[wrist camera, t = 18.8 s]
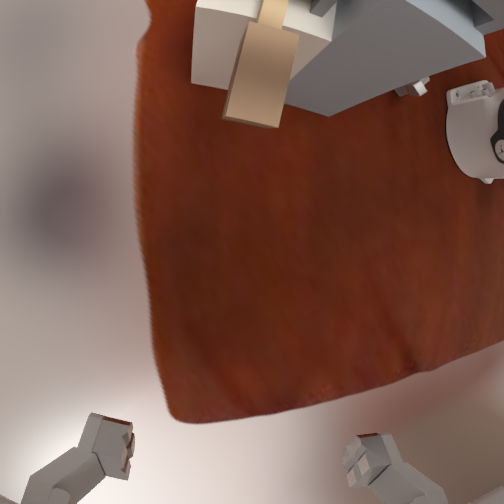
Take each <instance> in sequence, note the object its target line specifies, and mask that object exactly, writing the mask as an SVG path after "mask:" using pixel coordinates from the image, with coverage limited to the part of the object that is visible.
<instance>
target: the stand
mask: <svg viewBox="0 0 504 504" xmlns="http://www.w3.org/2000/svg"><path fill="white" fill-rule="evenodd" d="M261 2H262V0H198V1H197V4H196V8H195V21H194V35H193V52H192V72H191V83H193V84H199V85H204V86H210V87H215V88H220V89H225V90H228V87H229V83H230V79H231V75H232V71H233V67H234V63H235V59H236V55H237V52H238V48H239V44H240V40H241V38H242V36H243V34H244V32H245V29H246V27H247V25H248V23H249V21H251V22H255V23H256V20H257V16H258V12H259V9H260V5H261ZM503 28H504V0H289V2H288V6H287V10H286V14H285V18H284V22H283V26H282V30H285V31H289V32H292V33H295V34H299V35H300V36H299V41H298V45H297V49H296V53H295V58H294V62H293V66H292V71H291V75H290V79H289V83H288V88H287V92H286V96H285V101H284V104H288V105H291V106H295V107H298V108H302V109H305V110H308V111H312V112H315V113H318V114H321V115H324V116H327V117H330V116H332V115H334V114H336V113H339V112H341V111H343V110H345V109H348V108H350V107H352V106H354V105H357V104H359V103H361V102H364V101H366V100H369V99H371V98H373V97H376V96H378V95H381V94H383V93H386V92H388V91H391V90H393V89H396V88H398V87H401V86H403V85H406V84H409V83H411V82H414V81H417V80H419V79H422V78H425V77H428V76H430V75H433V74H436V73H439V72H442V71H445V70H448V69H451V68H454V67H457V66H460V65H463V64H466V63H469V62H472V61H476V60H479V59H482V58H486V53H485V44H484V37H483V35H485V34H488V33H491V32H494V31H497V30H500V29H503Z"/></svg>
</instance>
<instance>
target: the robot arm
mask: <svg viewBox="0 0 504 504" xmlns="http://www.w3.org/2000/svg"><path fill="white" fill-rule="evenodd" d="M446 95H447V104H448V113H447V120H446V131H447V139H448V143H449V147H450V150H451V153H452V156H453V158H454V160H455V162H456V163H457V165H458V167H459V168H460V169H461V170H462V171H463V172H464V173H465V174H466V175H468V176H470V177H473V178H479V179H481V180H482V181H483V182H484V183H485V184H491V183H492V181H493V179H497V178H504V88H499V89H494V86H493V84H492V82H488V81H487V80H481V81H478V82H474V83H471V84H467V85H464V86H460V87H457V88H454V89H450V90H448V91H447V94H446ZM132 430H133V425H132V422H127V421H123V420H119V419H114V418H110V417H106V416H103V415H99V414H95V413H91V414H90V415H89V417H88V419H87V422H86V425H85V427H84V430H83V433H82V436H81V439H80V442H79V444H78V447H77V448H76V447H73V448H71V449H70V450H68V451H67V452H66V453H64V454H63V455H61V456H60V457H58V458H57V459H55V460H54V461H52V462H51V463H49V464H48V465H46V466H45V467H44V468H42V469H40V470H39V471H37V472H36V473H34V474H33V475H31V476H30V478H29V481H28V484H27V487H26V490H25V492H24V495H23V498H22V501H21V504H77V502H79V501H80V500H81V499H82V498H83V497H84V496H85V495H86V494H88V493H89V492H90V491H91V490H92V489H93V488H94V487H95V486H96V485H97V484H98V483H100V482H101V481H102V480H103V479H104V478H105V476H109V477H114V478H118V479H123V480H128V477H129V472H130V468H131V465H130V461H129V459H130V458H131V457H132V456H133V452H134V446H135V436H134V433H132ZM342 463H343V466H344V468H346V469H347V470H348V472H347V474H346V478H347V481H348V484H349V488H357V487H364V486H368V488H369V489H370V490H371V491H372V492H373V493H374V494H375V495H376V496H377V497H378V498H380V500H381V501H382V502H383V503H384V504H449V503H448V501H447V498H446V496H445V493H444V491H443V489H442V488H441V487H439V486H438V485H437V484H435V483H434V482H433V481H431V480H430V479H428V478H427V477H426V476H424V475H423V474H422V473H420V472H419V471H418V470H416V469H415V468H413V467H412V466H411V465H409V464H408V463H407V462H403V461H402V458H401V456H400V454H399V451H398V449H397V447H396V444H395V442H394V440H393V437H392V435H391V434H390V433H389V432H381V433H372V434H364V435H356V436H354V437H353V438H352V439H351V444H349V445H347V446H346V447H345V449H344V450H343V453H342ZM0 504H18V503H16V502H14V501H12V500H10V499H8V498H6V497H4V496H2V495H0ZM468 504H504V485H503V486H500V487H498V488H497V489H495V490H493V491H491V492H489V493H488V494H486V495H484V496H482V497H480V498H478V499H476V500H474V501H472V502H470V503H468Z"/></svg>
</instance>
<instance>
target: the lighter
mask: <svg viewBox="0 0 504 504" xmlns="http://www.w3.org/2000/svg"><path fill="white" fill-rule="evenodd" d="M429 80H430V78H429V77H425V78H422V79H419V80H417V81H414V82H411V83H409V84H406V85H403V86H401V87H398V88H396V89H394V90H395V91H396V93H397V94H398V96H400V97H401V96H403V95H406V94H409V95H410V96H421V95H423V94H424V93H426V92H427V90H426V88H425V87H424V85H425V84H426V83H427V82H428V81H429Z"/></svg>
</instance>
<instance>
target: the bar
mask: <svg viewBox="0 0 504 504" xmlns="http://www.w3.org/2000/svg"><path fill="white" fill-rule="evenodd" d="M288 2H289V0H262V2H261V5H260V9H259V12H258V16H257V20H256V23H255V22H251V21H249V23H248V25H247V27H246V29H245V32H244V34H243V36H242V38H241V40H240V44H239V48H238V52H237V55H236V59H235V63H234V67H233V71H232V75H231V79H230V83H229V87H228V92H227V96H226V100H225V104H224V109H223V113H222V118H221V120H226V121H231V122H236V123H241V124H245V125H250V126H255V127H259V128H263V129H267V128H278V127H279V122H280V118H281V114H282V109H283V105H284V101H285V96H286V92H287V88H288V83H289V79H290V75H291V71H292V66H293V62H294V58H295V53H296V49H297V45H298V41H299V36H300V35H299V34H295V33H292V32H289V31H285V30H282V26H283V22H284V18H285V14H286V10H287V6H288Z"/></svg>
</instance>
